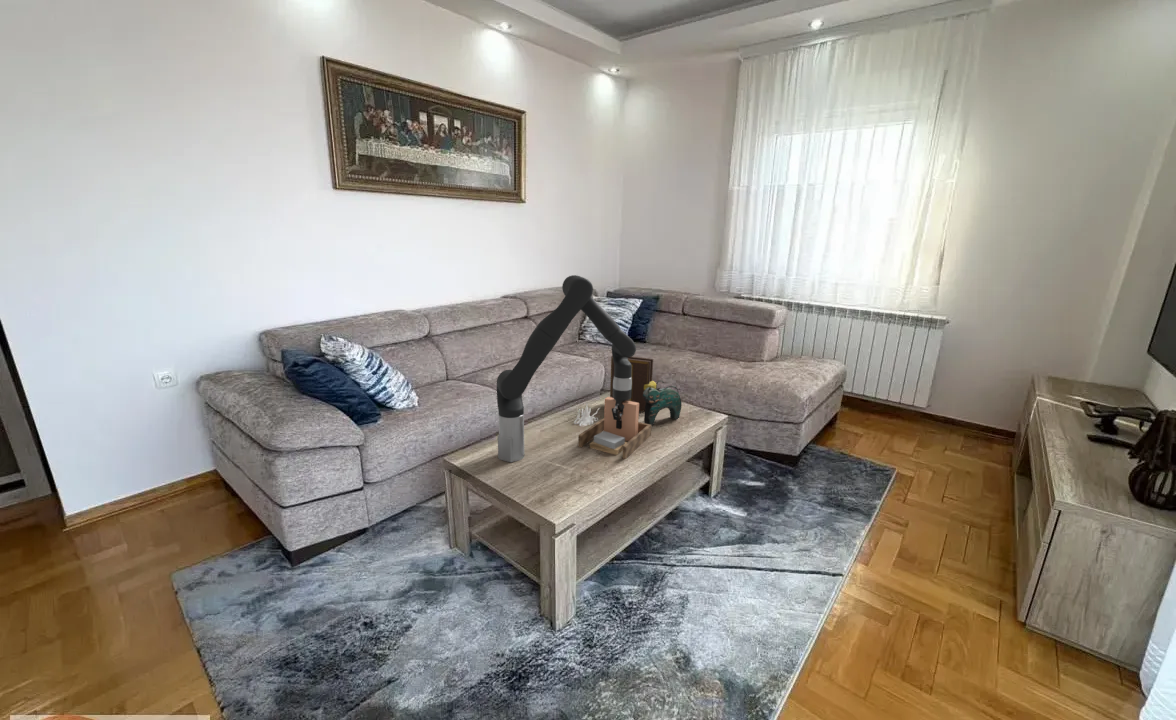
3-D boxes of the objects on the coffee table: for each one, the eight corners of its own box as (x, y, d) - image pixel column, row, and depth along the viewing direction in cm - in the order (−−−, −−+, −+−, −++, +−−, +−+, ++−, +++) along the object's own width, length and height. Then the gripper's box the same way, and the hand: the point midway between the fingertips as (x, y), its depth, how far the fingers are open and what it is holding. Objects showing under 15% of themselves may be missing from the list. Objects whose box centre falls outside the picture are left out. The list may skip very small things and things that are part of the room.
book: (607, 408, 237) (609, 357, 230) (613, 402, 244) (615, 353, 238) (652, 415, 229) (655, 363, 222) (656, 409, 236) (659, 358, 230)
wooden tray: (625, 459, 184) (625, 446, 182) (578, 446, 193) (578, 435, 192) (651, 435, 205) (651, 424, 204) (607, 426, 215) (607, 415, 213)
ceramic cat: (646, 428, 213) (649, 384, 208) (638, 423, 218) (640, 380, 213) (682, 420, 222) (685, 378, 217) (673, 416, 228) (676, 374, 223)
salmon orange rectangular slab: (634, 442, 198) (636, 405, 194) (603, 435, 205) (604, 398, 201) (637, 439, 201) (639, 402, 197) (606, 432, 207) (608, 396, 203)
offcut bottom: (617, 456, 187) (617, 450, 187) (589, 449, 193) (589, 443, 192) (627, 447, 195) (627, 442, 194) (600, 441, 201) (600, 435, 200)
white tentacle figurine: (570, 423, 217) (570, 403, 215) (588, 416, 226) (588, 397, 224) (585, 428, 212) (586, 408, 209) (603, 421, 221) (603, 401, 218)
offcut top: (614, 449, 187) (614, 443, 187) (593, 442, 193) (593, 436, 193) (624, 443, 193) (625, 437, 192) (604, 436, 199) (604, 431, 198)
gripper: (623, 393, 190) (621, 434, 194) (637, 384, 202) (636, 423, 206) (606, 390, 193) (604, 431, 198) (621, 381, 205) (619, 419, 209)
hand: (620, 426), depth 202 cm, fingers closed on salmon orange rectangular slab, 3 cm apart
